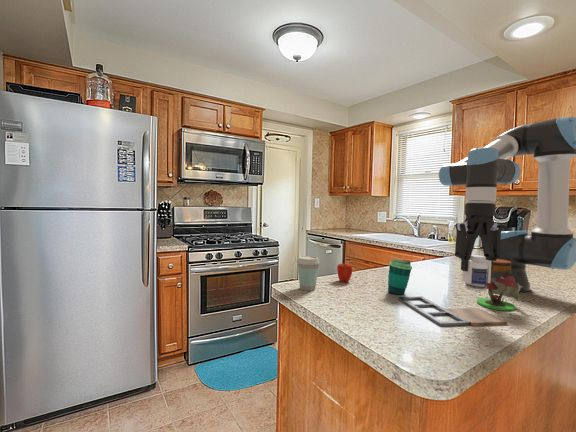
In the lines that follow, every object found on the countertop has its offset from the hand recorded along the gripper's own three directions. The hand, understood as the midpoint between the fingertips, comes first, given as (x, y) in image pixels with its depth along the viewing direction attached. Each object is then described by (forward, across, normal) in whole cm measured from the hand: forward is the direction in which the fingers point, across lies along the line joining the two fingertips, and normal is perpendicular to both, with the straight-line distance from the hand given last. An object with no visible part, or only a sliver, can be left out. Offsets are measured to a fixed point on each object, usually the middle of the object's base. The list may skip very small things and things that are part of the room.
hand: (476, 281), depth 88 cm
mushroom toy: (+11, -16, -9) cm, 21 cm away
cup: (+11, +10, -25) cm, 29 cm away
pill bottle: (+2, 0, 0) cm, 2 cm away
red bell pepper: (+11, +25, -43) cm, 51 cm away
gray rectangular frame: (+11, +10, -7) cm, 16 cm away
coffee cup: (+11, +43, -33) cm, 55 cm away
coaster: (+11, 0, 0) cm, 11 cm away
